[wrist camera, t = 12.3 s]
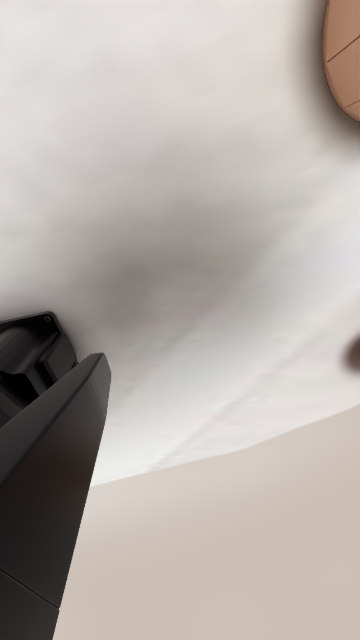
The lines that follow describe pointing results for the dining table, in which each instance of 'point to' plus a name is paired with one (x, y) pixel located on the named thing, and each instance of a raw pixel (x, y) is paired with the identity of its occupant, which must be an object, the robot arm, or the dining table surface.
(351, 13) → the bowl
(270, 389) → the dining table surface
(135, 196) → the dining table surface
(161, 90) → the dining table surface
